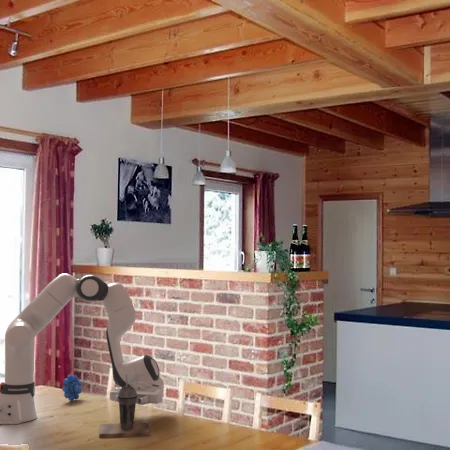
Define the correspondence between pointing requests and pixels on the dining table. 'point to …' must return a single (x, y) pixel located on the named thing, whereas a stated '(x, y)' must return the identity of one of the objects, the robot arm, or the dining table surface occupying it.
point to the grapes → (72, 387)
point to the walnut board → (116, 430)
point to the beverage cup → (127, 406)
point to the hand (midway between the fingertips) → (128, 400)
